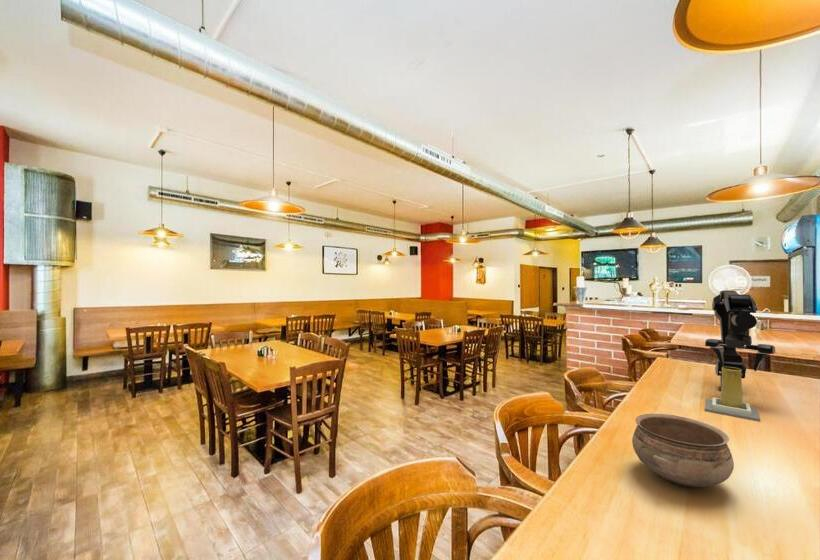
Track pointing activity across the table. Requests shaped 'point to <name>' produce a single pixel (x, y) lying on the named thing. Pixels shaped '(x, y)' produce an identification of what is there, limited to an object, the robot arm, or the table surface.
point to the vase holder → (732, 409)
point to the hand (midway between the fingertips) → (738, 368)
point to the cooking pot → (683, 450)
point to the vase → (731, 387)
